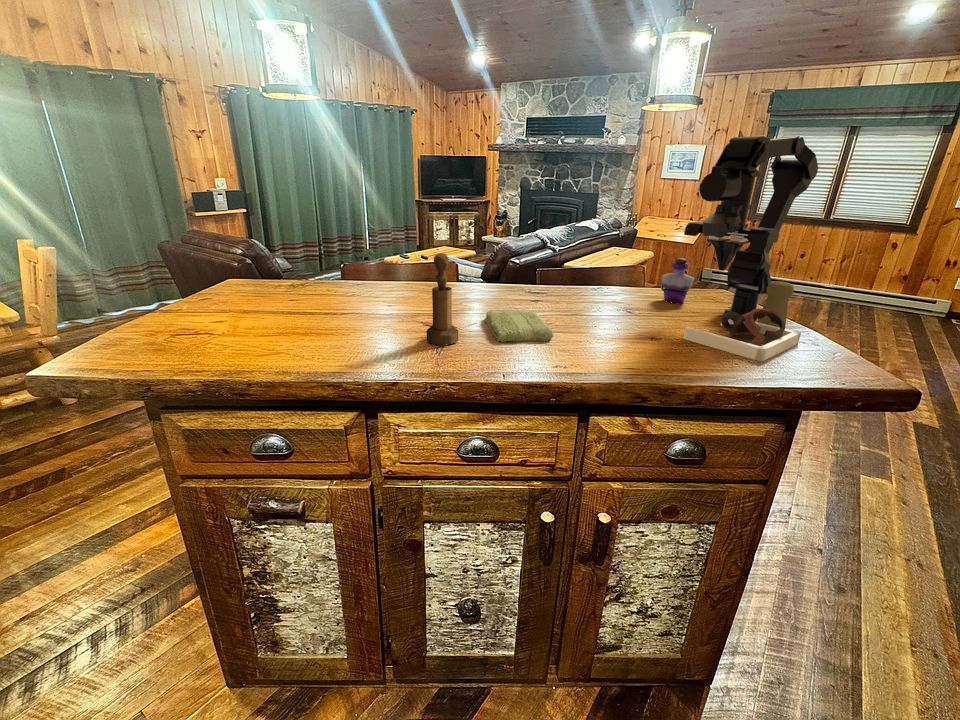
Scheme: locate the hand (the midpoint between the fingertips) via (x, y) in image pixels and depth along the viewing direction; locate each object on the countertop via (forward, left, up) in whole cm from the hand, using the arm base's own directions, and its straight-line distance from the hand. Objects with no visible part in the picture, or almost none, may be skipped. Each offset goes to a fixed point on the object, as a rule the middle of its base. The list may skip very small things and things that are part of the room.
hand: (721, 270), depth 109 cm
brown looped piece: (+7, +12, -13) cm, 19 cm away
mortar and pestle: (+60, -26, -13) cm, 67 cm away
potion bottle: (-11, -16, -13) cm, 23 cm away
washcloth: (+43, -23, -13) cm, 50 cm away
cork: (-7, +11, -13) cm, 18 cm away
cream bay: (+8, +10, -13) cm, 18 cm away
